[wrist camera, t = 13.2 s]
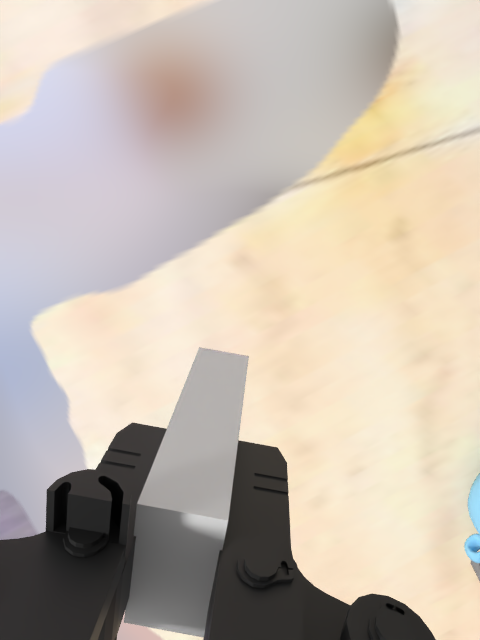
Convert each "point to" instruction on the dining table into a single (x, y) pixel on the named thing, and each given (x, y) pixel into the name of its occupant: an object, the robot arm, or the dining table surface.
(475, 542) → the decorative pot
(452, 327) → the dining table surface
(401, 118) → the dining table surface
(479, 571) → the grey piece
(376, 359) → the dining table surface
